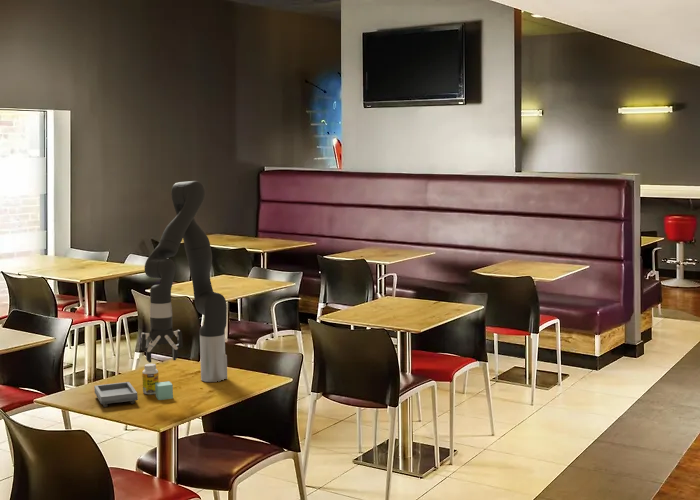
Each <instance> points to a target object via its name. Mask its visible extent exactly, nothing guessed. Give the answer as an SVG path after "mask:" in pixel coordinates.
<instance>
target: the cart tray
mask: <svg viewBox="0 0 700 500" xmlns="http://www.w3.org/2000/svg"><path fill="white" fill-rule="evenodd" d="M93 386H94V387H93V388H94V389H93V390H94V394H95V395H96V398H97V399H98V401H99V403H100V404H101V405H103V408H108V407H109V406H108V405H110V404H115V403H123V402H125V403H126V402H130V405H134V404H135V401H138V400H139V399H138V392H137V391H136V389H135V387H134V386H133V385H132V384H131V382H130V381H123V382H122V381H121V382H114V383H107V384H106V383H105V384H98V385H97V384H96V385H93Z"/></svg>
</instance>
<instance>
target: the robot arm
mask: <svg viewBox="0 0 700 500" xmlns="http://www.w3.org/2000/svg"><path fill="white" fill-rule="evenodd" d="M170 192H171V193H170V195H171V201H172V204H173V208H174V212H175V213H176V216H175V217H174V218H173V219H172V220H170V222H169V223H168V224H167V225H166V226H165V229H164V230H163V232H162V234H161V237H160V240H159V241H158V245H157V246H156V247H155V248H154V250H153V251H152V252H151V253H150V255H149V256H148V257H147V259H146V261H145V263H144V273H145V275H146V277H148V278H151V279H160V280H161V281H160V283H159V284H154V285H152V286H151V287H150V291H149V295H150V296H149V298H150V300H149V302H150V305H149V326H150V327H149V328H150V329H149V332H141V333H140V345H139V346H140V348H139V349H140V350H141V351H142V352H145V359H146V361H147V362H148V364H152V352H151V351H152V349H153V348H154V347H156V345H157V346H158V345H167V344H169V345H170V346H171V347H172V348H171V349H172V360H173V361H177V359H178V355H179V354H178V353H179V352H178V350H179V349H181V348H183V346H184V344H183V342H184V341H183V332H182V330H180V329H177V330H173V305H172V287H173V283H174V278H175V276H176V269H177V267H176V264H175V262H174V260H173V259H171V258H172V257H175V256H176V255H177V254H178V251H179V249H180V245H181V244H182V242H183V243H184V250H185V254H186V259H187V263H188V267H189V272H190V276H191V281H192V288H193V298H194V304H195V308H196V310H197V312H198V313H199V314H200V315H203V316H204V324H203V325H202V326H200V328H199V353H200V354H199V355H200V380H201V381H202V382H206V383H217V381H218V382H222V381H221V380H223V381H225V380H224V379H227V380H228V355H227V354H226V339H225V337H226V336H225V335H226V334H225V333H226V331H225V329H226V327H227V322H228V321H227V320H228V319H227V318H228V317H227V316H228V314H227V313H228V311H227V310H228V308H227V306H228V305H227V304H228V303H227V300H226V298H225V296H224V295H223V294H222V293H219V292H215V291H214V289H213V285H212V282H211V269H212V265H213V264H212V262H213V253H212V246H211V243H210V239H209V236H208V235H207V233H206V232H205V231H204V229H203V228H202V227H201V226H200V224H198V222H197V221H196V219H195V217H196V215H197V213H198V211H199V210H200V208H201V206H202V205H203V203H204V200H205V198H206V189H205V186H204V185H203V183H201V182H200V181H198V180H190V181H179V182H175V183H174V184H172V187H171V190H170ZM174 335H175V337H176V338H177V344H176V343H175V342H174V341H173V340H172V338H173V336H174ZM148 337H149V338H150V339H151V340H150V341H149V343H148V345H147V346H146V342H147V341H146V340H148Z"/></svg>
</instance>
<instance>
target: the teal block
mask: <svg viewBox="0 0 700 500" xmlns="http://www.w3.org/2000/svg"><path fill="white" fill-rule="evenodd" d="M173 388H174V386H173V383H172V382H171V381H169V380H166V381H159V382H158V383H155V391H156V394H155V398H156V399H157V400H158V401H164V400H171V399H174V391H173Z"/></svg>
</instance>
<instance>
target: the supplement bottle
mask: <svg viewBox="0 0 700 500" xmlns="http://www.w3.org/2000/svg"><path fill="white" fill-rule="evenodd" d="M143 367H144V369H143V370H142V392H143V394H144V395H156V391H155V383H158V382H160V381H159V380H160V379H159V370H158V369H157V365H156V363H146V364H144V366H143Z"/></svg>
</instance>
